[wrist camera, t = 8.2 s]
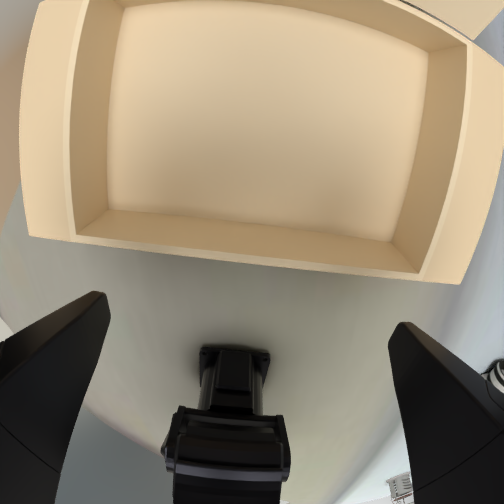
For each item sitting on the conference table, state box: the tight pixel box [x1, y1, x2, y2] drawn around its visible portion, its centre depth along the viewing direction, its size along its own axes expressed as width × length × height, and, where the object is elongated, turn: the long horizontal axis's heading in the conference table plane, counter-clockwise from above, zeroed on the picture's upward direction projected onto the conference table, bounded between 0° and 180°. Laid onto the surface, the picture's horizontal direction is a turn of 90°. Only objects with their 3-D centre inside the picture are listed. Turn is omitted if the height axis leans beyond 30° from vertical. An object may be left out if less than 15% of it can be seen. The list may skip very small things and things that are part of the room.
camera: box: [481, 361, 504, 393], centre depth 27 cm, size 16×9×10 cm, turn 79°
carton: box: [19, 0, 504, 284], centre depth 13 cm, size 16×30×5 cm, turn 83°
